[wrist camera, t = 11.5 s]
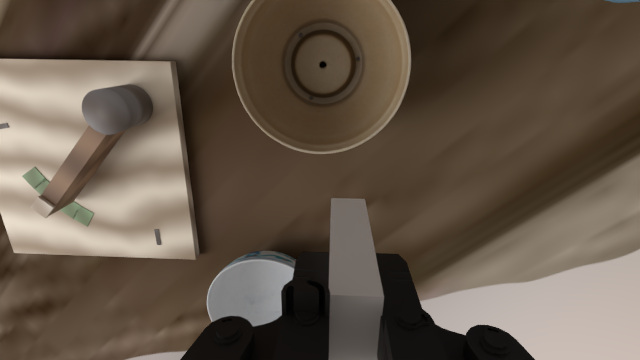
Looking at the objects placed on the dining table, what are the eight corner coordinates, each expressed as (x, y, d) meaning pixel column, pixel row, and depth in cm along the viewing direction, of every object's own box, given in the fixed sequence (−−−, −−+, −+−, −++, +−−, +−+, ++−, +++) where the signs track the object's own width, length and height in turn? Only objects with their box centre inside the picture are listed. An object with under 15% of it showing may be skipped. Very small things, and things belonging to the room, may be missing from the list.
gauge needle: (126, 75, 41) (96, 79, 36) (160, 103, 42) (135, 111, 37) (50, 185, 46) (14, 203, 41) (82, 208, 47) (50, 228, 42)
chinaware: (204, 256, 52) (183, 290, 44) (289, 211, 48) (281, 240, 41) (260, 326, 56) (249, 367, 49) (342, 289, 53) (343, 327, 45)
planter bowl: (402, 114, 43) (423, 133, 33) (278, 142, 45) (261, 169, 35) (379, -31, 38) (395, -61, 28) (239, 9, 40) (206, -6, 29)
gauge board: (-40, 57, 43) (-54, 57, 41) (175, 61, 42) (169, 61, 40) (22, 247, 52) (13, 253, 51) (199, 253, 51) (195, 259, 50)
